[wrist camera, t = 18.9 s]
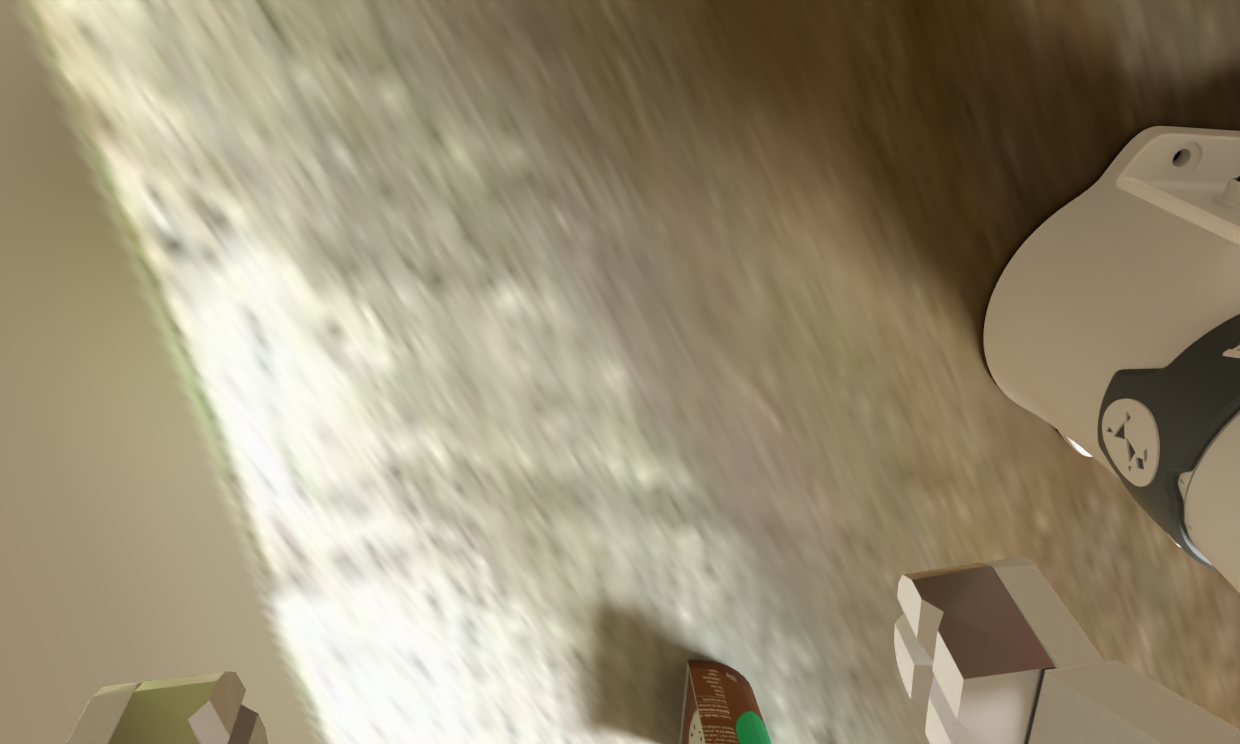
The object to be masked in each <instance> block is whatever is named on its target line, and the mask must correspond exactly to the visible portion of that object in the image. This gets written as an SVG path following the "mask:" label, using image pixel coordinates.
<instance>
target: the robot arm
mask: <svg viewBox="0 0 1240 744" xmlns="http://www.w3.org/2000/svg"><path fill="white" fill-rule="evenodd" d="M1180 150H1181V154H1180V156H1179V157H1178V158H1177V159H1176V160H1175V161H1173V157H1174V156H1175V154H1176V153H1177V152H1178V151H1180ZM984 352H985V357H986V361H987V365H988V367H989V370H990V373H991V375H992V377H993V379H994V380H995V382H996V383H997V385H998V386H999V388H1000V389H1001V390H1002V391H1003V392H1004V393H1005V394H1006V395H1007V396H1008V397H1009V398H1010V399H1011V400H1013V401H1014V402H1015V403H1017V404H1018V405H1020V406H1021V407H1023V408H1025V409H1027V410H1028V411H1030V412H1032V413H1034V414H1035V415H1037V416H1039V417H1040V418H1042V419H1043V420H1045V421H1046V422H1048V423H1049V424H1051V425H1052V426H1053V427H1055V428H1056V429H1057V430H1058V431H1059V433H1060V434H1061V436H1062V437H1063V438H1064V440H1065V441H1066V442H1067V443H1068V444H1069V445H1070V446H1072V447H1073V448H1074V449H1075V450H1076V451H1078V452H1079V453H1080V454H1082V455H1084V456H1088V457H1094V458H1095V459H1096V460H1097V461H1098V462H1100V463H1101V464H1102V465H1103V466H1105V467H1106V468H1107V469H1108V470H1109V471H1111V472H1112V473H1113V474H1114V475H1116V476H1117V477H1118V478H1119V479H1120V480H1121V481H1122V482H1123V484H1124V485H1125V486H1126V488H1127V489H1128V491H1129V492H1130V494H1131V495H1132V496H1133V498H1134V499H1135V500H1136V502H1137V503H1138V504H1139V505H1140V506H1141V507H1142V508H1143V509H1144V510H1145V511H1146V512H1147V513H1148V514H1149V516H1150V517H1151V518H1152V519H1153V520H1154V521H1155V522H1156V523H1157V524H1158V525H1159V526H1160V527H1161V528H1162V529H1163V530H1164V531H1165V532H1166V533H1167V536H1168V537H1169V538H1170V539H1171V540H1172V541H1173V542H1174V543H1175V544H1176V545H1178V546H1179V547H1181V548H1182V549H1183V550H1184V551H1185V552H1187V553H1188V554H1189V555H1190V556H1191V557H1192V558H1193V559H1195V560H1196V561H1198V562H1199V563H1201V564H1203V565H1205V566H1207V567H1209V568H1211V569H1215V570H1218V571H1219V572H1220V573H1221V574H1222V575H1223V576H1224V577H1225V578H1226V580H1227V581H1228V582H1229V583H1230V584H1231V585H1232V586H1233V587H1234V588H1235V589H1236V590H1237V591H1238V592H1239V593H1240V131H1232V130H1218V129H1203V128H1188V127H1173V126H1154V127H1150V128H1148V129H1145V130H1144V131H1142V132H1140V133H1139V134H1138V135H1136V136H1135V137H1134V138H1133V139H1132V140H1131V141H1130V142H1129V143H1128V144H1127V145H1126V146H1125V147H1124V148H1123V150H1122V151H1121V152H1120V153H1119V154H1118V156H1117V157H1116V158H1115V159H1114V161H1113V162H1112V163H1111V164H1110V166H1109V167H1108V168H1107V170H1106V171H1105V172H1104V174H1103V175H1102V176H1101V178H1100V179H1099V180H1098V181H1097V182H1096V183H1095V184H1094V185H1092V186H1091V187H1090V188H1089V189H1088V190H1086V191H1085V192H1084V193H1082V194H1081V195H1080V196H1078V197H1077V198H1075V199H1074V200H1072V201H1071V202H1070V203H1068V204H1067V205H1065V206H1064V207H1063V208H1061V209H1060V210H1058V211H1057V212H1056V213H1055V214H1053V215H1052V216H1051V217H1050V218H1048V219H1047V220H1046V221H1045V222H1044V223H1043V224H1042V225H1041V226H1039V227H1038V228H1037V229H1036V230H1035V231H1034V232H1033V233H1032V234H1031V235H1030V237H1029V238H1028V239H1027V240H1026V241H1025V242H1024V243H1023V244H1022V246H1021V247H1020V248H1019V249H1018V251H1017V252H1016V253H1015V255H1014V256H1013V257H1012V259H1011V260H1010V262H1009V263H1008V265H1007V266H1006V268H1005V269H1004V271H1003V273H1002V275H1001V277H1000V278H999V280H998V282H997V285H996V287H995V289H994V291H993V294H992V296H991V299H990V302H989V305H988V309H987V313H986V318H985V324H984ZM897 598H898V600H899V602H900V604H901V606H902V609H903V611H904V614H903V615H902V616H901V617H900V618H899V619H898V620H897V621H896V622H895V634H894V645H895V651H896V658H897V664H898V668H899V671H900V674H901V677H902V680H903V683H904V685H905V688H906V690H907V692H908V695H909V697H910V699H911V701H913V702H914V703H916V704H917V705H918V706H920V707H921V708H923V709H924V710H925V711H927V719H926V728H925V733H926V736H927V738H928V740H929V742H930V744H1240V730H1239V729H1238V728H1236V727H1234V726H1232V725H1231V724H1229V723H1227V722H1225V721H1224V720H1222V719H1220V718H1218V717H1217V716H1215V715H1213V714H1211V713H1210V712H1208V711H1206V710H1204V709H1203V708H1201V707H1199V706H1197V705H1196V704H1194V703H1192V702H1190V701H1189V700H1187V699H1185V698H1183V697H1182V696H1180V695H1178V694H1176V693H1175V692H1173V691H1171V690H1169V689H1168V688H1166V687H1164V686H1162V685H1160V684H1159V683H1157V682H1155V681H1153V680H1152V679H1150V678H1148V677H1146V676H1145V675H1143V674H1141V673H1139V672H1138V671H1136V670H1134V669H1132V668H1131V667H1129V666H1127V665H1125V664H1124V663H1122V662H1120V661H1118V660H1114V661H1104V660H1103V658H1102V657H1101V655H1100V654H1099V653H1098V651H1097V650H1096V648H1095V647H1094V646H1093V644H1092V643H1091V641H1090V640H1089V639H1088V637H1087V636H1086V634H1085V633H1084V632H1083V630H1082V629H1081V627H1080V626H1079V625H1078V623H1077V622H1076V620H1075V619H1074V618H1073V616H1072V615H1071V614H1070V612H1069V611H1068V609H1067V608H1066V607H1065V605H1064V604H1063V602H1062V601H1061V600H1060V598H1059V597H1058V595H1057V594H1056V593H1055V591H1054V590H1053V588H1052V587H1051V586H1050V584H1049V583H1048V581H1047V580H1046V579H1045V577H1044V576H1043V574H1042V573H1041V572H1040V570H1039V569H1038V567H1037V566H1036V565H1035V563H1034V562H1033V561H1031V560H1030V559H1028V558H1027V557H1018V558H1011V559H1004V560H998V561H991V562H984V563H983V564H981V563H975V564H969V565H962V566H956V567H949V568H943V569H936V570H930V571H923V572H917V573H910V574H904V575H902V577H901V579H900V581H899V584H898V594H897ZM245 691H246V690H245V688H244V686H243V684H242V683H241V681H240V679H239V677H238V676H237V674H236V673H235V672H218V673H210V674H201V675H192V676H184V677H175V678H167V679H158V680H149V681H144V682H137V683H129V684H122V685H121V684H120V685H112V686H104V687H102V688H101V689H100V690H99V691H98V692H96V693H95V694H94V695H93V696H92V697H91V698H90V700H89V701H88V703H87V705H86V707H85V709H84V711H83V713H82V714H81V716H80V718H79V720H78V722H77V724H76V726H75V728H74V729H73V732H72V733H71V735H70V737H69V739H68V741H67V743H66V744H268V741H267V736H266V731H265V727H264V725H263V723H262V721H261V719H260V717H259V715H258V713H256V712H254V711H252V710H250V709H248V708H246V707H245V706H243V705H241V702H242V700H243V697H244V694H245Z"/></svg>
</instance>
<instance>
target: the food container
mask: <svg viewBox="0 0 1240 744" xmlns="http://www.w3.org/2000/svg"><path fill="white" fill-rule="evenodd" d="M679 744H771V741H770V738H769V736H768V733H767V730H766V727H765V724H764V721H763V718H762V716H761V713H760V710H759V707H758V704H757V701H756V699H755V696H754V693H753V690H752V688H751V686H750V684H749V682H748V681H747V680H746V679H745V677H744V676H742V675H741V674H740V673H739V672H737V671H736V670H734V669H732V668H730V667H728V666H725V665H722V664H719V663H715V662H710V661H701V660H687V670H686V680H685V690H684V700H683V710H682V720H681V730H680V740H679Z"/></svg>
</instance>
